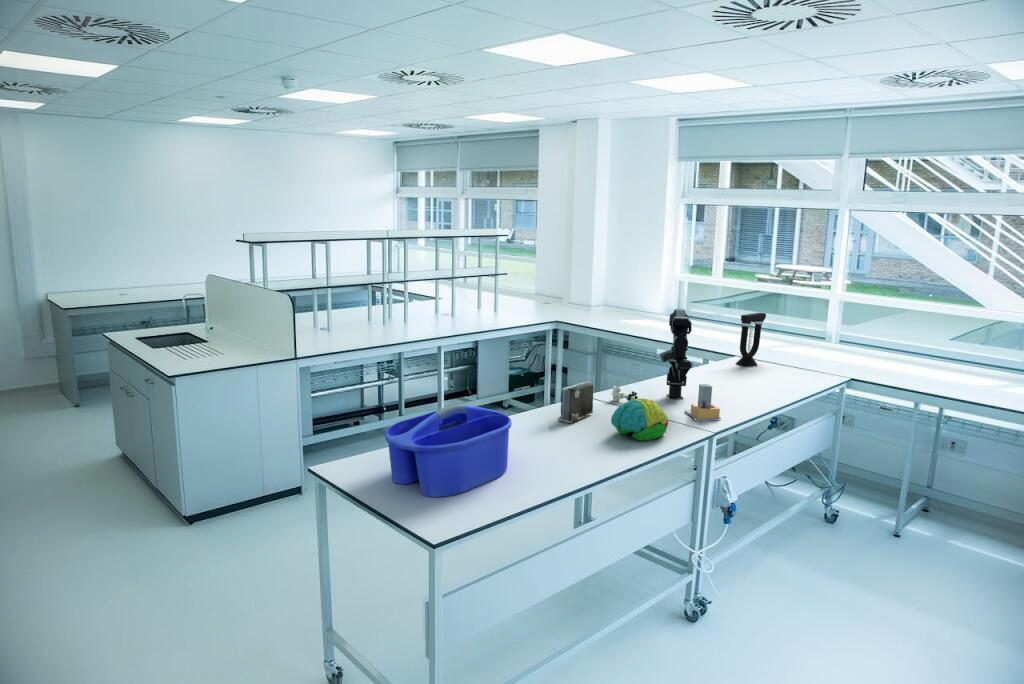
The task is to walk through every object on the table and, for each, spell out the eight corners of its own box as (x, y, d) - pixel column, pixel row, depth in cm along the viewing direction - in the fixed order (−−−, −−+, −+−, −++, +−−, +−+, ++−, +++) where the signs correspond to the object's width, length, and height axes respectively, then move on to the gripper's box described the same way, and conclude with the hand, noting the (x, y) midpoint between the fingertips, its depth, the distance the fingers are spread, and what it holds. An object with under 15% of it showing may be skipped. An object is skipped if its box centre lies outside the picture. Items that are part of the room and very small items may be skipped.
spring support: (748, 368, 368) (752, 316, 362) (728, 364, 377) (732, 314, 372) (767, 363, 381) (771, 313, 375) (748, 360, 390) (751, 311, 385)
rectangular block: (697, 413, 279) (699, 384, 277) (705, 413, 280) (707, 384, 278) (701, 416, 276) (703, 386, 273) (710, 415, 276) (712, 386, 274)
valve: (608, 401, 301) (628, 407, 292) (608, 387, 300) (629, 392, 291) (617, 398, 305) (637, 404, 296) (618, 385, 304) (638, 390, 295)
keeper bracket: (684, 412, 284) (685, 397, 283) (707, 411, 286) (709, 396, 284) (696, 421, 272) (697, 405, 271) (720, 419, 274) (722, 404, 273)
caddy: (366, 481, 208) (363, 411, 204) (464, 445, 241) (464, 384, 237) (432, 510, 188) (430, 433, 183) (530, 467, 221) (531, 401, 217)
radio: (585, 408, 289) (586, 376, 286) (601, 412, 283) (603, 379, 280) (553, 420, 271) (554, 386, 269) (570, 425, 266) (571, 390, 263)
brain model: (634, 447, 239) (637, 408, 237) (599, 433, 254) (602, 396, 252) (677, 438, 253) (680, 401, 250) (641, 425, 268) (644, 390, 266)
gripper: (656, 341, 295) (654, 374, 298) (667, 349, 277) (665, 384, 280) (680, 341, 296) (678, 374, 299) (693, 349, 278) (691, 384, 280)
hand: (677, 379), depth 289 cm, fingers open, 9 cm apart
